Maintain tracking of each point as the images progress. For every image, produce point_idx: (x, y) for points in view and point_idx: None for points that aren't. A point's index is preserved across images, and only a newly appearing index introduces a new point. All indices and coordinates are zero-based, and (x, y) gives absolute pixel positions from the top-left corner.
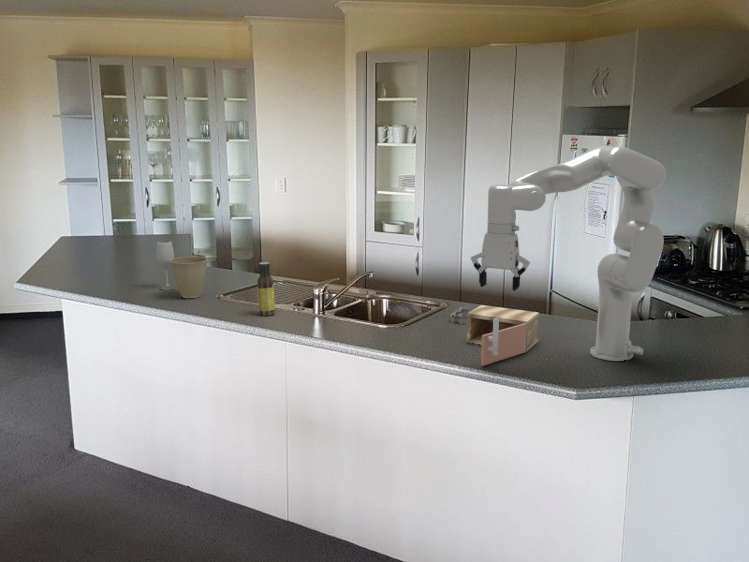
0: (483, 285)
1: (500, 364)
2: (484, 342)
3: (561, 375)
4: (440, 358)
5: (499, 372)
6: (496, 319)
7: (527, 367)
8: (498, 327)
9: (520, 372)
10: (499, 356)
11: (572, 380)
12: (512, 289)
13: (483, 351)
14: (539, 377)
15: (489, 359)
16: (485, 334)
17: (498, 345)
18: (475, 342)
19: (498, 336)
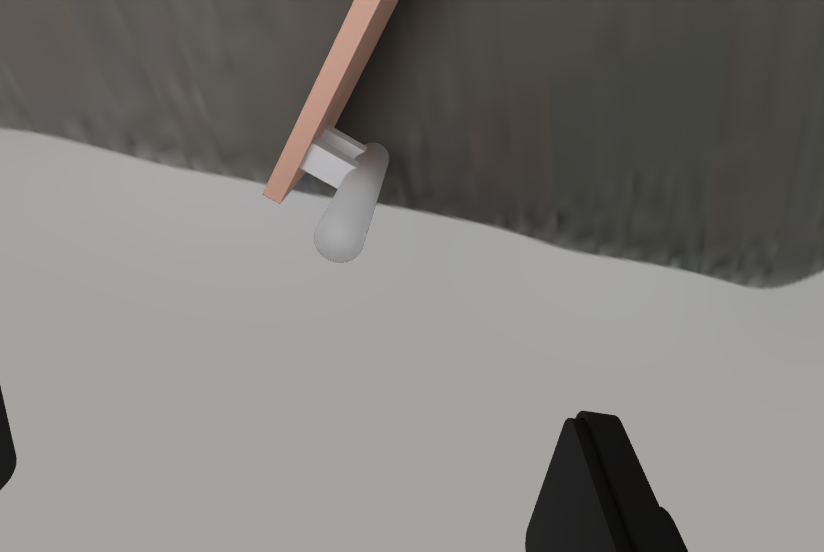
0: (2, 455)
1: (398, 78)
2: (294, 182)
3: (725, 140)
4: (71, 94)
5: (417, 200)
6: (346, 260)
7: (547, 75)
8: (371, 217)
9: (516, 166)
10: (379, 35)
11: (771, 192)
12: (528, 548)
13: (304, 173)
14: (612, 204)
15: (339, 114)
16: (278, 166)
17: (365, 51)
18: None
19: (355, 58)
